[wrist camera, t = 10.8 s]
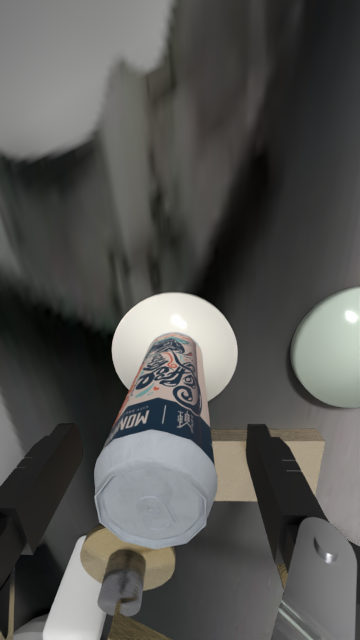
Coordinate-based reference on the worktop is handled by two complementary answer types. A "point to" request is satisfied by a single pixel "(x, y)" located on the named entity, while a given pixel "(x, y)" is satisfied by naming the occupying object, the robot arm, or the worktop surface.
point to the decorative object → (31, 629)
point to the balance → (158, 564)
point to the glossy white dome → (184, 318)
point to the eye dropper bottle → (75, 604)
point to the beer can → (160, 451)
